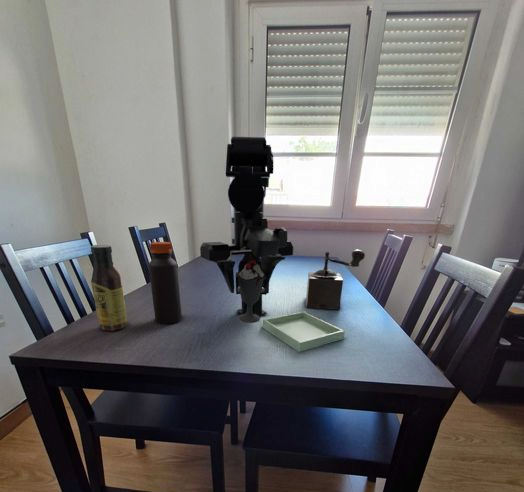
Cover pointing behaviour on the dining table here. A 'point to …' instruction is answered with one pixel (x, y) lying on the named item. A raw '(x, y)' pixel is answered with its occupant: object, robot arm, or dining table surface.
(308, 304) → the manual coffee grinder
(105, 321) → the sauce bottle
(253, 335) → the dining table surface
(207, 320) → the dining table surface
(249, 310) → the sundae
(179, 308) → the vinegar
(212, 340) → the dining table surface
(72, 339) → the dining table surface
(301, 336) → the serving tray
